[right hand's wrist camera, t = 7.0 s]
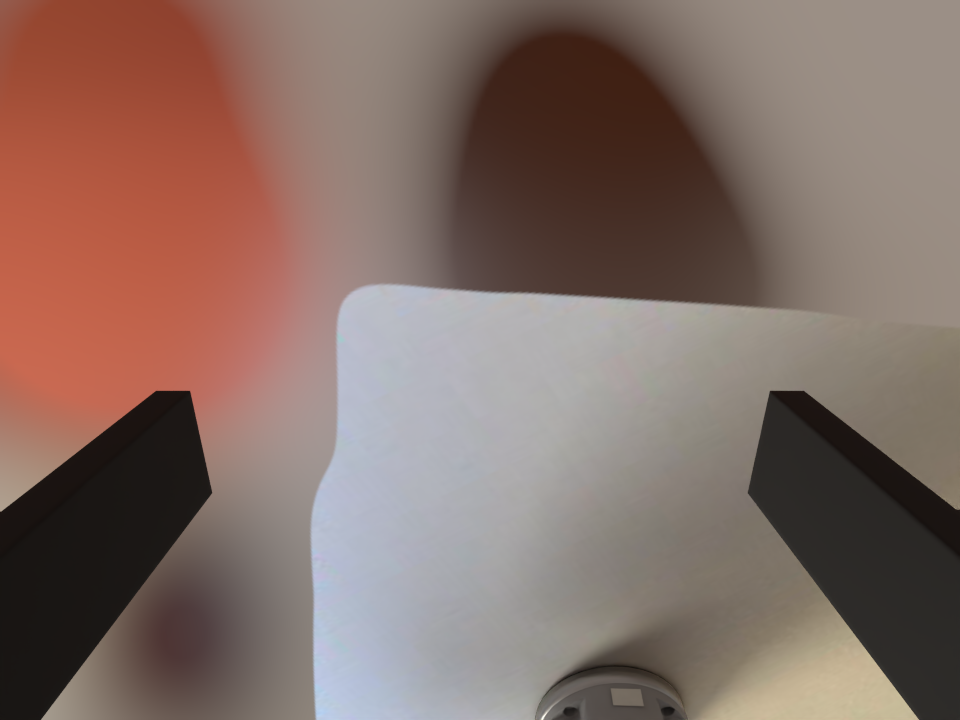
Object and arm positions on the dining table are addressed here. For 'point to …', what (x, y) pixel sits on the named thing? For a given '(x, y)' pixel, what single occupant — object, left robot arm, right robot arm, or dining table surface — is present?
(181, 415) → the right robot arm
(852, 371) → the dining table surface
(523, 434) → the dining table surface
